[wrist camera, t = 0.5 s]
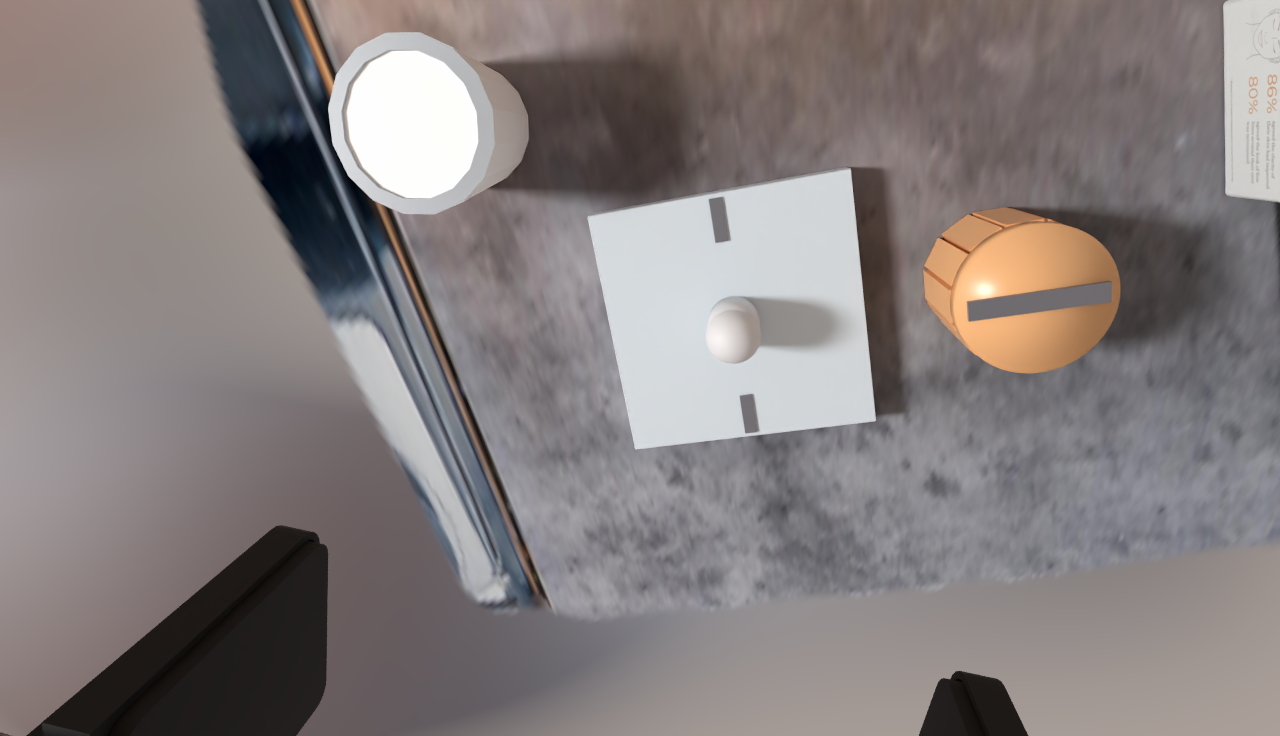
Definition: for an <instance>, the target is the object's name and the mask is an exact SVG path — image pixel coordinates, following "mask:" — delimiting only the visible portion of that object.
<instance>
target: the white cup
mask: <svg viewBox="0 0 1280 736" xmlns="http://www.w3.org/2000/svg"><path fill="white" fill-rule="evenodd" d="M328 111H329V119H330V127H331V135H332V143H333V146H334V148H335V150H336V152H337V154H338V156H339V158H340V160H341V162H342V164H343V166H344V168H345V170H346V172H347V174H348V176H349V177H350V178H351V179H352V180H353V181H354V182H355V183H356V184H357V185H358V186H359V187H360V188H361V189H362V190H363V191H364V192H365V193H366V194H367V195H368V196H369V197H370V198H371V199H372V200H374V201H376V202H378V203H380V204H383V205H385V206H387V207H389V208H392V209H394V210H396V211H398V212H401V213H403V214H436V213H439V212H441V211H443V210H446V209H448V208H450V207H452V206H455V205H457V204H459V203H462V202H464V201H465V200H467V199H469V198H471V197H473V196H475V195H476V194H478V193H480V192H482V191H484V190H485V189H487V188H489V187H491V186H493V185H495V184H496V183H498V182H500V181H502V180H504V179H506V178H507V177H508V176H509V175H510V174H511V173H512V172H513V170H514V169H515V168H516V167H517V166H518V165H519V164H520V163H521V161H522V159H523V156H524V153H525V150H526V147H527V144H528V141H529V126H528V114H527V111H526V109H525V107H524V104H523V102H522V100H521V97H520V95H519V92H518V91H517V90H516V89H515V88H514V87H513V86H512V85H511V84H510V83H509V82H508V81H507V80H506V79H505V78H504V77H503V76H502V75H501V74H500V73H498V72H496V71H494V70H492V69H491V68H489V67H487V66H485V65H483V64H482V63H480V62H478V61H476V60H475V59H473V58H471V57H469V56H467V55H466V54H464V53H462V52H460V51H458V50H457V49H455V48H453V47H451V46H449V45H447V44H444V43H442V42H440V41H438V40H435V39H433V38H431V37H429V36H426V35H424V34H422V33H420V32H405V33H384V34H382V35H380V36H378V37H376V38H374V39H373V40H371V41H369V42H367V43H365V44H363V45H361V46H359V47H357V48H356V49H355V50H354V52H353V53H352V54H351V56H350V57H349V58H348V60H347V61H346V62H345V64H344V65H343V66H342V68H341V69H340V70H339V72H338V73H337V74H336V78H335V82H334V87H333V91H332V95H331V99H330V103H329V107H328Z"/></svg>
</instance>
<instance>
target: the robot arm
mask: <svg viewBox="0 0 1280 736" xmlns="http://www.w3.org/2000/svg"><path fill="white" fill-rule="evenodd" d="M327 588H328V550H327V547H326V546H325V545H324V544H320V543H319V537H318V535H317V534H316V533H314V532H310V531H305V530H301V529H296V528H291V527H287V526H276V527H275V528H273V529H271V530H270V531H269V532H268V533H267V534H265V535H264V536H263V537H262V538H261V539H259V540H258V541H257V542H256V543H255V544H253V545H252V546H251V547H250V548H249V549H248V550H247V551H245V552H244V553H243V554H242V555H240V556H239V557H238V558H237V559H236V560H234V561H233V562H232V563H231V564H230V565H229V566H227V567H226V568H225V569H224V570H223V571H221V572H220V573H219V574H218V575H217V576H216V577H214V578H213V579H212V580H211V581H209V582H208V583H207V584H206V585H205V586H204V587H202V588H201V589H200V590H199V591H198V592H196V593H195V594H194V595H193V596H192V597H191V598H189V599H188V600H187V601H186V602H185V603H183V604H182V605H181V606H180V607H179V608H177V609H176V610H175V611H174V612H173V613H172V614H170V615H169V616H168V617H167V618H166V619H164V620H163V621H162V622H161V623H160V624H158V625H157V626H156V627H155V628H154V629H152V630H151V631H150V632H149V633H148V634H146V635H145V636H144V637H143V638H142V639H141V640H140V641H138V642H137V643H136V644H135V645H134V646H132V647H131V648H130V649H129V650H128V651H126V652H125V653H124V654H123V655H121V656H120V657H119V658H118V659H117V660H116V661H114V662H113V663H112V664H111V665H110V666H109V667H107V668H106V669H105V670H104V671H103V672H101V673H100V674H99V675H98V676H97V677H95V678H94V679H93V680H92V681H91V682H89V683H88V684H87V685H86V686H85V687H83V688H82V689H81V690H80V691H79V692H78V693H76V694H75V695H74V696H73V697H72V698H70V699H69V700H68V701H67V702H66V703H64V704H63V705H62V706H61V707H60V708H59V709H57V710H56V711H55V712H54V713H53V714H51V715H50V716H49V717H48V718H47V719H46V720H44V721H43V722H42V723H41V724H40V725H39V726H37V727H36V728H35V729H34V730H33V731H31V732H30V733H29V734H28V735H27V736H296V735H297V734H298V733H299V731H300V730H301V728H302V727H303V726H304V724H305V723H306V722H307V720H308V719H309V718H310V716H311V715H312V713H313V712H314V711H315V709H316V708H317V706H318V705H319V703H320V701H321V698H322V696H323V693H324V690H325V686H326V658H327ZM0 736H11V735H8V734H5V733H2V732H0ZM919 736H1028V734H1027V732H1026V730H1025V728H1024V726H1023V724H1022V722H1021V720H1020V718H1019V716H1018V713H1017V711H1016V709H1015V707H1014V705H1013V703H1012V701H1011V699H1010V697H1009V695H1008V693H1007V691H1006V689H1005V687H1004V685H1003V684H1002V682H1001V681H999V680H998V679H995V678H990V677H985V676H981V675H976V674H972V673H967V672H962V671H956V672H955V673H954V674H953V675H952V677H951V679H945V678H943V679H941V680H940V681H939V682H938V684H937V687H936V689H935V692H934V695H933V698H932V700H931V703H930V706H929V709H928V712H927V714H926V717H925V720H924V723H923V726H922V728H921V731H920V734H919Z"/></svg>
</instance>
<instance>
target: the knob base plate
mask: <svg viewBox="0 0 1280 736" xmlns="http://www.w3.org/2000/svg"><path fill="white" fill-rule="evenodd" d="M587 217H588V222H589V227H590V232H591V237H592V241H593V246H594V251H595V256H596V261H597V266H598V271H599V275H600V280H601V285H602V290H603V295H604V300H605V305H606V309H607V314H608V319H609V324H610V329H611V334H612V339H613V343H614V348H615V353H616V358H617V363H618V368H619V373H620V378H621V382H622V387H623V392H624V397H625V402H626V407H627V412H628V416H629V421H630V426H631V431H632V436H633V441H634V446H635V449H643V448H651V447H660V446H668V445H677V444H685V443H694V442H702V441H711V440H719V439H728V438H736V437H745V436H753V435H762V434H770V433H779V432H787V431H796V430H804V429H813V428H821V427H830V426H838V425H847V424H855V423H864V422H872V421H876V417H875V407H874V397H873V387H872V377H871V367H870V357H869V347H868V337H867V327H866V317H865V307H864V297H863V287H862V277H861V267H860V257H859V247H858V237H857V227H856V217H855V207H854V197H853V187H852V177H851V169H850V168H847V167H844V168H838V169H833V170H827V171H822V172H816V173H811V174H805V175H800V176H794V177H789V178H783V179H778V180H772V181H767V182H761V183H756V184H750V185H745V186H739V187H734V188H728V189H723V190H717V191H712V192H706V193H701V194H695V195H690V196H685V197H679V198H674V199H668V200H663V201H657V202H652V203H646V204H641V205H635V206H630V207H624V208H619V209H613V210H608V211H602V212H597V213H593V214H591V215H589V216H587Z"/></svg>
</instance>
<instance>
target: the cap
mask: <svg viewBox="0 0 1280 736" xmlns="http://www.w3.org/2000/svg"><path fill="white" fill-rule="evenodd" d="M941 235H942V236H943V237H944V239H945V240H943V239H940V238H938V239H937V241H936V243H935V245H934V247H933V249H932V251H931V253H930V255H929V257H928V259H927V261H926V263H925V265H924V266H925V267H926V268H928V269H927V270H923V272H924V285H925V299H926V300H927V301H928V302H927V303H928V305H929V306H930V307H931V309H932V310H933V311H934V313H935V314H936V315H937V316H938V318H939V319H940V320H941V322H942V323H943V324H944V325H945V326H946V327H947V328H948V329H949V330H950V331H951V332H952V333H953V334H954V335H955V336H956V337H957V338H958V339H959V340H960V341H961V342H962V343H963V344H964V345H965V346H966V347H967V348H968V349H969V350H970V351H971V352H973V353H974V354H975V355H977V356H979V357H980V358H981V359H983V360H984V361H986V362H988V363H989V364H991V365H993V366H995V367H997V368H1000V369H1003V370H1007V371H1011V372H1017V373H1040V372H1045V371H1050V370H1054V369H1057V368H1060V367H1062V366H1065V365H1067V364H1070V363H1071V362H1073V361H1075V360H1077V359H1079V358H1080V357H1081V356H1083V355H1084V354H1086V353H1087V352H1088V351H1089V350H1091V349H1092V348H1093V347H1094V346H1095V345H1096V344H1097V343H1098V342H1099V341H1100V340H1101V338H1102V337H1103V336H1104V335H1105V333H1106V332H1107V330H1108V329H1109V327H1110V325H1111V324H1112V322H1113V320H1114V317H1115V315H1116V312H1117V309H1118V305H1119V301H1120V291H1121V288H1120V277H1119V273H1118V269H1117V267H1116V264H1115V262H1114V260H1113V258H1112V256H1111V255H1110V253H1109V252H1108V250H1107V249H1106V248H1105V247H1104V246H1103V245H1102V244H1101V243H1100V242H1099V241H1098V240H1097V239H1096V238H1094V237H1092V236H1091V235H1089V234H1088V233H1086V232H1084V231H1081V230H1079V229H1077V228H1073V227H1070V226H1067V225H1064V224H1061V223H1058V222H1056V221H1053V220H1050V219H1047V218H1044V217H1040V216H1037V215H1034V214H1030V213H1027V212H1024V211H1020V210H1017V209H1013V208H1007V207H1003V208H997V209H991V210H985V211H979V212H973V216H971V215H967V216H965V217H964V218H962V219H961V220H960V221H958V222H957V223H956V224H954V225H953V226H952V227H950V228H949V229H948V230H946V231H945V232H943V233H942V234H941Z"/></svg>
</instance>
